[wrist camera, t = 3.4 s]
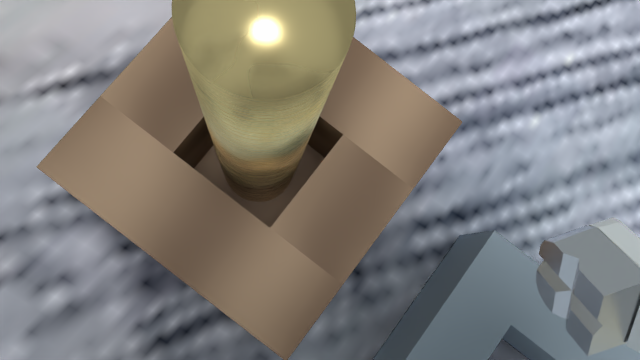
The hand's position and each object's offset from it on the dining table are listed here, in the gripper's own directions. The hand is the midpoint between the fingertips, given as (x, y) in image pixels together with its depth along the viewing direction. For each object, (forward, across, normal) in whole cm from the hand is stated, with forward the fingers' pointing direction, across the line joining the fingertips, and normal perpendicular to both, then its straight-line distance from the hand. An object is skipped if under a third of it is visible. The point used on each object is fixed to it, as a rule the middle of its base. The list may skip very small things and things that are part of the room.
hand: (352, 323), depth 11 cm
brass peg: (+14, 0, +6) cm, 15 cm away
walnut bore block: (+15, 0, +7) cm, 16 cm away
